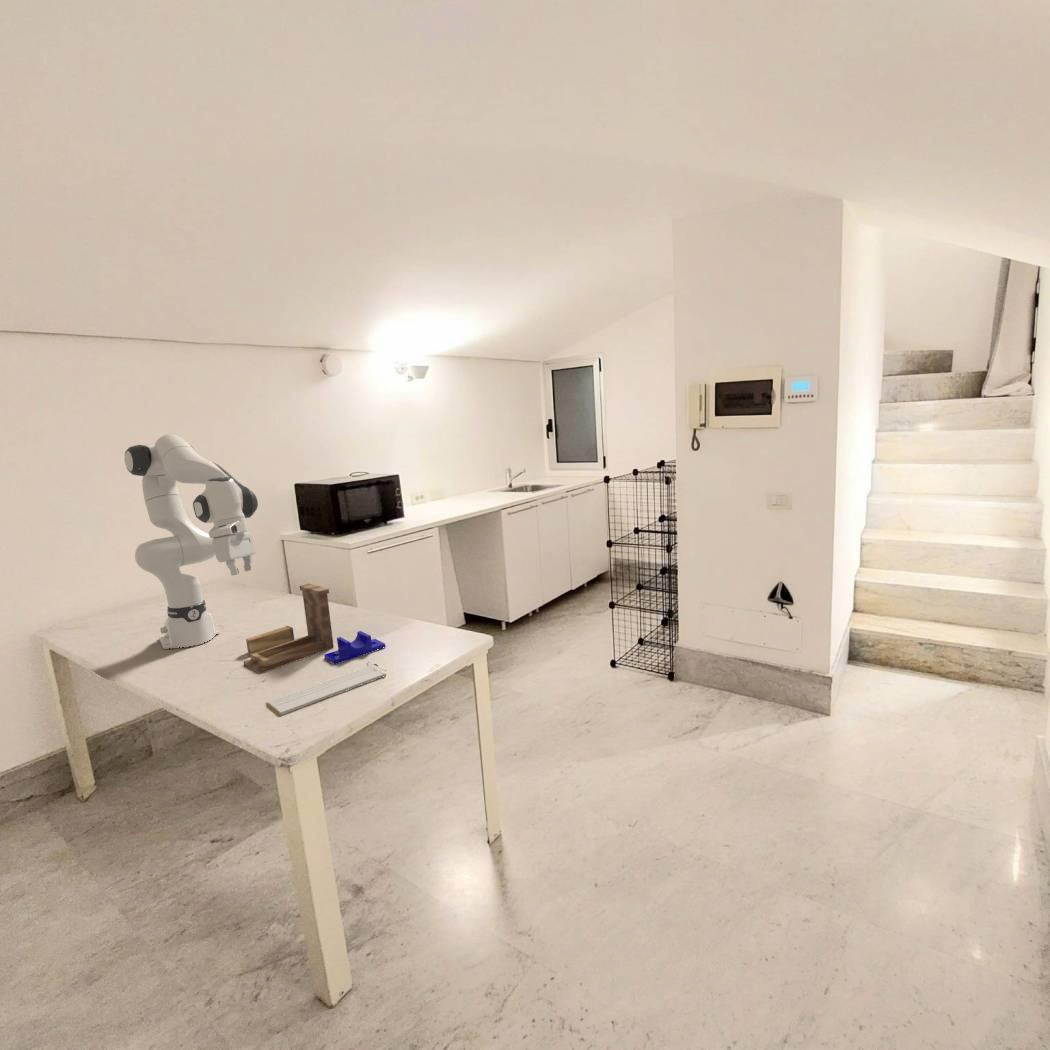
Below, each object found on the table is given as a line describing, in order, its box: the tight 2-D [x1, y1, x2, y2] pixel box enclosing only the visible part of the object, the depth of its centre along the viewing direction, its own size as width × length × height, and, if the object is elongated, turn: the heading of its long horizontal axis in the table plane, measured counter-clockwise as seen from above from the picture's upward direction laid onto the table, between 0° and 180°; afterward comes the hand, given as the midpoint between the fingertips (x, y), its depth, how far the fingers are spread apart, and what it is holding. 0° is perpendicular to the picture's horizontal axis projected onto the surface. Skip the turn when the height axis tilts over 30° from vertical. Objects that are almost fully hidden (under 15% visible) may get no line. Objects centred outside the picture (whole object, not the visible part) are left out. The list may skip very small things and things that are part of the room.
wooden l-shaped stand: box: [243, 583, 335, 674], centre depth 196 cm, size 13×26×20 cm, turn 138°
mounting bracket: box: [323, 630, 387, 665], centre depth 196 cm, size 18×7×6 cm, turn 132°
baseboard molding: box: [265, 661, 387, 716], centre depth 170 cm, size 31×3×12 cm
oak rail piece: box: [245, 625, 295, 654], centre depth 206 cm, size 4×15×5 cm, turn 138°
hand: (242, 572), depth 184 cm, fingers open, 8 cm apart
